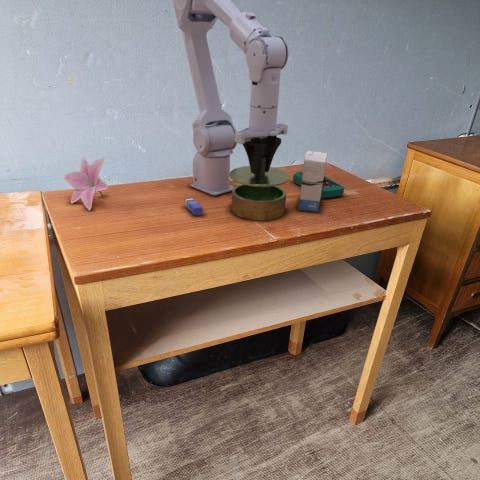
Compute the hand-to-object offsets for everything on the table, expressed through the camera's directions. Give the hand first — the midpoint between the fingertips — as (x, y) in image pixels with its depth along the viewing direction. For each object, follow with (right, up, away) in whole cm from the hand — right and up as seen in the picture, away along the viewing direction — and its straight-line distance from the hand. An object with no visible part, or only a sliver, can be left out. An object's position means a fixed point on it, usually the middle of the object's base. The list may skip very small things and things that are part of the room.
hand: (259, 172), depth 99 cm
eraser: (-15, -8, +3) cm, 17 cm away
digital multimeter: (+16, +2, +19) cm, 25 cm away
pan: (0, -7, +5) cm, 9 cm away
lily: (-40, -5, +6) cm, 41 cm away
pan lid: (0, -1, +1) cm, 1 cm away
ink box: (+13, -5, +9) cm, 16 cm away
